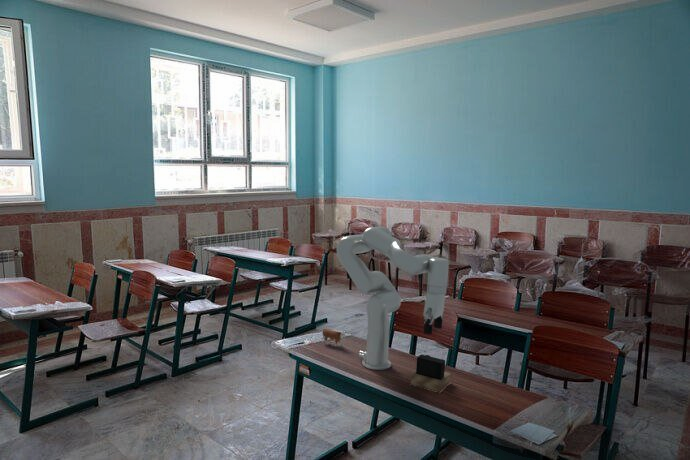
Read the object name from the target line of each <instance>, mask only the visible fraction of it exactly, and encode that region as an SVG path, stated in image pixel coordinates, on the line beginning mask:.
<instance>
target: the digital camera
mask: <svg viewBox="0 0 690 460" xmlns="http://www.w3.org/2000/svg"><path fill="white" fill-rule="evenodd" d="M445 368H446V360H445V359H442V358H438V357H434V356H431V355H429V354H419V355H418V356H417V358H416V368H415V372H416V374H419V375H423V376H427V377H430V378H434V379H438V380H441V379H442V378H443V377H444V372H446V369H445Z"/></svg>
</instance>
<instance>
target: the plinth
mask: <svg viewBox="0 0 690 460" xmlns="http://www.w3.org/2000/svg"><path fill="white" fill-rule="evenodd" d="M410 377H411V379H410V382H409V386H411V385H413V386H412V387H415V386H417V387H416V388H418V387H421V388H420V389H422V388H425V389H429V390H433V391H437V392H440V391H441V390H442V389H443V388H444V387H445V386H446V385H447V384H448V383H449V382H450V381H451V379H452V373H451V372H447V371H445V372H444V377H443V378H442V379H441V380H438V379H434V378H430V377H427V376H423V375H419V374H416V371H415V372H414V373H412V374H411V376H410ZM425 389H424V390H425Z"/></svg>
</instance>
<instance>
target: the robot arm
mask: <svg viewBox="0 0 690 460" xmlns="http://www.w3.org/2000/svg"><path fill="white" fill-rule="evenodd" d="M373 250H375V251H377V252H378V253H380V254H383V256H386V257H387V258H388V259H389V261H391V263H392V264H393V266H395V267H396V268H398V269H399V270H401V271H403V272H405V273H407V274H408V275H411V276H417V275H421V274H427V273H428V275H427V286H426V292H427V293H426V296H425V300H424V301H425V302H424V307H423V313H422V315H423V317H424V318H423V320H424V321H423V323H424V325H423V333H424V334H427V335H430V336H431V335H432V334H433V328H436V329H440V330H441V329H442V326H443V318H444V317H443V315H444V311H445V303H446V302H445V300H446V299H445V298H446V297H445V296H446V294H447V286H448V277H449V276H448V275H449V266H450V262H449V260H448V259H446V258H443V257H435V256H433V255H430V254H425V253H424V254H423V253H421V254H416V255H413V254H410V253H408V252H407V251H405V250H403V249H402V248H401V241H400V239H398V238H396V237H394V236H392V232H391V231H390V229H389V228H388V227H385V226H383V225H381V226H370V227H367V228H366V229H365V230H364V231H363V233H360V234H353V235H352V234H351V235H347V236H346V235H345V236H344V237H342V238H341V239H340V240H339V241H338V242H337V246H336V256H337V259H338V261H339V263H340V264H341V265H342V267H343V268H344V269H345V271H346V273H347V274H348V275H349V277H350V279H351V280H352V282H353V284H354V286H356V288H357V290H358V291H359V292H360V293H361V294H362V295H363V296H364V295H371V294H373V295H371V296H370V297H369V298H368V300H367V302H366V313H367V332H366V333H367V334H366V350H365V351H364V350H359V352H358V357H360V358H363V359H362V360H361V361H362V362H361V364H362V365H363V367H365V368H367V369H370V370H373V371H374V370H376V371H383V370H388V369H389V368H391V367H392V362H391V360H389V344H390V326H391V325H390V324H391V323H390V319H389V317H388V316H389V315H388V314H391V313H393V312H396V311H397V310H398V309H400V307H401V305H402V300H401V297H400V295H399V293H398V291H397V289H396V288H395V286H394V285H393V284H392V282H391V280H390V279H389V278H388V276H387V275H386V274H384V272H382V271H379V270H373V271H370V269H369V268H368V266H367V265H366V264H365V262H364V261H363V260H362V259H361V258H360V257H358V255H357V254H364V253H368V252H371V251H373Z"/></svg>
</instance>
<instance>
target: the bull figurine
mask: <svg viewBox="0 0 690 460" xmlns="http://www.w3.org/2000/svg"><path fill="white" fill-rule="evenodd" d="M346 333H347V331H344V330H333V329H328V328H324V329H322V339H323V341H324V342H325V344H326V345H327V346H329V345H330V343H329V341H328V339H329V340H330V341H333V340H334V341H335V344H334V346H335V348H336V347H338V345H339V346H340V347H343V345H342V343H341V342H342V341H343V339H346V337H347V336H346ZM338 343H339V344H338Z"/></svg>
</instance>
